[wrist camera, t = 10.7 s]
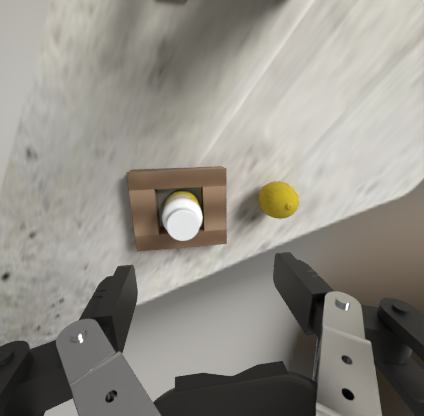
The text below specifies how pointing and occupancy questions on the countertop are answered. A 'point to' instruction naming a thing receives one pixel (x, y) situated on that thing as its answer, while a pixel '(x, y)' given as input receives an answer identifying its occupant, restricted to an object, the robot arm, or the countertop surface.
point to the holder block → (156, 197)
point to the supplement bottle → (182, 215)
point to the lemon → (278, 200)
